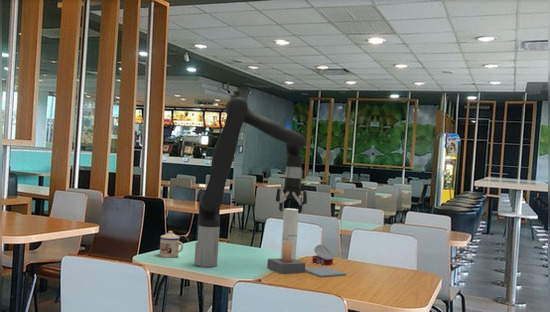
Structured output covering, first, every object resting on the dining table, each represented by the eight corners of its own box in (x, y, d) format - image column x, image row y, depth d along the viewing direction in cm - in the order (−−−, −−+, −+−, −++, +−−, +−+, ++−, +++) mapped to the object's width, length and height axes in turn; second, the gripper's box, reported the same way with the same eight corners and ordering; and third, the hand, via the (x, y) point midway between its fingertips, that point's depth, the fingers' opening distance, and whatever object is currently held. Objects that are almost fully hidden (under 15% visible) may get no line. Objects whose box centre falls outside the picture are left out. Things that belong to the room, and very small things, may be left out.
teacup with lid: (154, 256, 235) (156, 230, 235) (166, 253, 243) (168, 229, 244) (176, 259, 230) (178, 233, 230) (187, 256, 238) (189, 232, 239)
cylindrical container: (295, 262, 241) (299, 210, 242) (280, 261, 241) (284, 209, 242) (295, 259, 248) (298, 209, 249) (280, 258, 249) (284, 208, 249)
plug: (284, 271, 220) (286, 243, 220) (279, 269, 223) (281, 242, 224) (292, 270, 222) (293, 243, 222) (287, 268, 226) (288, 242, 226)
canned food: (327, 271, 249) (337, 254, 249) (327, 273, 239) (338, 255, 239) (307, 259, 250) (318, 241, 251) (307, 260, 240) (318, 242, 241)
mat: (320, 277, 213) (320, 275, 213) (301, 270, 225) (301, 268, 225) (346, 275, 220) (346, 273, 220) (326, 268, 232) (326, 266, 232)
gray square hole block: (281, 273, 215) (282, 264, 215) (267, 268, 225) (267, 258, 225) (304, 272, 221) (305, 263, 221) (289, 266, 231) (290, 257, 231)
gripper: (275, 175, 231) (273, 211, 231) (306, 178, 227) (303, 214, 226) (280, 175, 238) (277, 210, 238) (310, 178, 234) (307, 213, 234)
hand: (290, 212), depth 232 cm, fingers open, 8 cm apart
